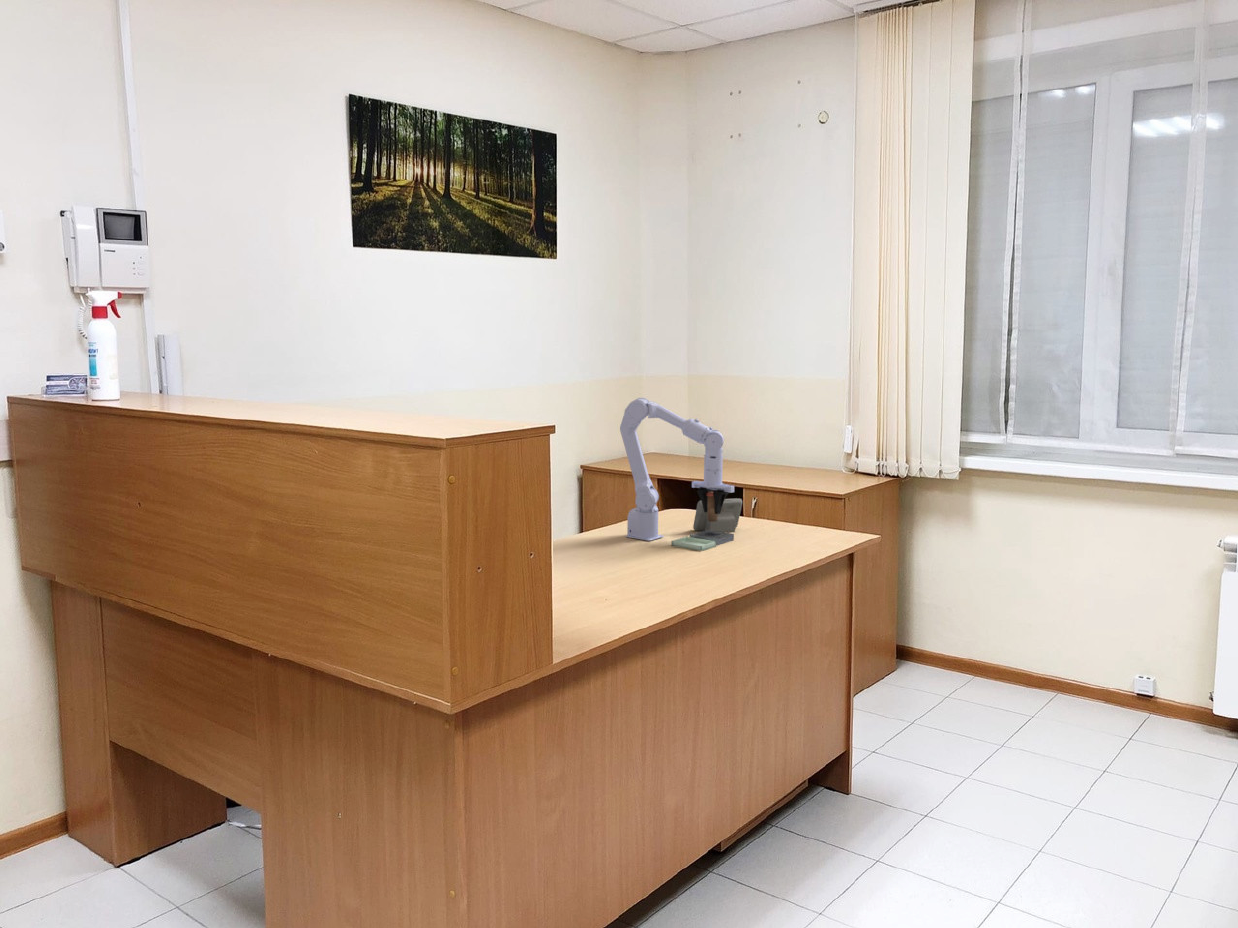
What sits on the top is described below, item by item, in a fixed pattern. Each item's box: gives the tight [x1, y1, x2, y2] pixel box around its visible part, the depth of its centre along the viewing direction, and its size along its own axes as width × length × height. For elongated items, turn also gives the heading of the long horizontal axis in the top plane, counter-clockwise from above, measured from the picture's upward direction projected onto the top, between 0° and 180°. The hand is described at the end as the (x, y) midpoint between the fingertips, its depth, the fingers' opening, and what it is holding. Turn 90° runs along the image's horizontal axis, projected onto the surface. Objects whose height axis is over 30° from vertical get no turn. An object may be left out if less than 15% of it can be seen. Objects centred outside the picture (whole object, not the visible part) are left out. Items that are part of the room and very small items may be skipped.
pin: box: [707, 491, 718, 522], centre depth 309 cm, size 4×4×9 cm
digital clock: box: [692, 498, 743, 533], centre depth 325 cm, size 16×9×11 cm, turn 98°
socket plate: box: [689, 530, 735, 547], centre depth 310 cm, size 10×10×2 cm
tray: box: [671, 536, 717, 552], centre depth 303 cm, size 11×8×2 cm
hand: (712, 512), depth 309 cm, fingers closed on pin, 3 cm apart
